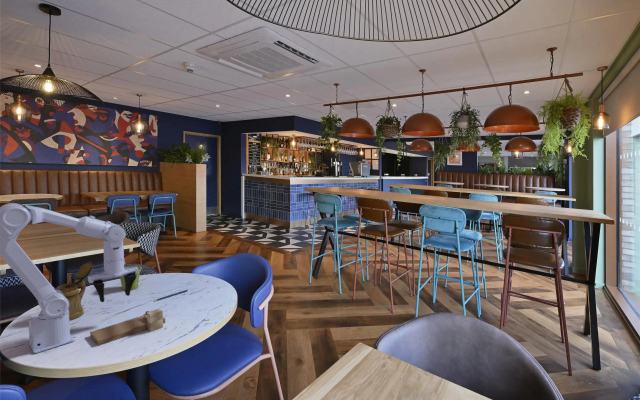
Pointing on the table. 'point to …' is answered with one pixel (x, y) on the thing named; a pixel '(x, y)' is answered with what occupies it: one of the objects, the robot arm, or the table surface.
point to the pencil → (171, 295)
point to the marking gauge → (154, 319)
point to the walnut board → (119, 330)
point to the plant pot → (134, 281)
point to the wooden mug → (76, 291)
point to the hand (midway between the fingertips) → (115, 298)
